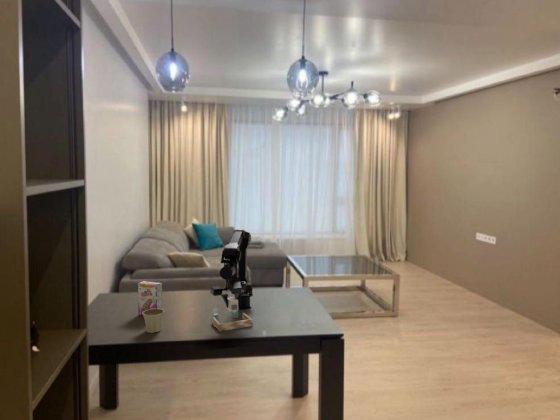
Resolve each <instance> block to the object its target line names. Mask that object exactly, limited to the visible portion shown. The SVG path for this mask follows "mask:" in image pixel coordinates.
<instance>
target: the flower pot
mask: <svg viewBox="0 0 560 420" xmlns="http://www.w3.org/2000/svg"><path fill="white" fill-rule="evenodd" d="M164 313H165V310H164V309H163V308H162V309H149V310H145V311H143V313H142V314H143V318H144V323H145V331H146V332H147V333H150V334H154V333H159V332H160V331H162V324H163V316H164Z"/></svg>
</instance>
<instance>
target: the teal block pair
mask: <svg viewBox="0 0 560 420" xmlns="http://www.w3.org/2000/svg"><path fill="white" fill-rule="evenodd" d="M212 315H213V316H212V318H213V317H214V318H215V319H216V320H219V314H218V313H213V314H212ZM232 317H233V318H234V319H238V318H239V310H238V311H233V312H232Z"/></svg>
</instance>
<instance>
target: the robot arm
mask: <svg viewBox="0 0 560 420" xmlns="http://www.w3.org/2000/svg"><path fill="white" fill-rule="evenodd" d="M251 235H252V234H251V233H250V232H248V231H246V230H245V229H234V230H233V234H232V238H231V240H230V242H229V243H228V244H226V245H225V246H224V248H223V249H222V253H221V260H220V264H223V266H222V268H220V271H219V276H220V277H221V278H222V279H223V280H225V283H224V287H221V286H218V285H217V286H211V287H210V290H209V291H210V294H211V295H212V296H215V297H219V296H220V297H221V298H222V299H223V302H224V304H225V308H226V307H227V308H228V297H229V294H228V292H230V293H231V294H232V295H233V296H234V297H235V298H236V299H237V300H238V310H246V309H252V306H251V297H253V285H252V284H251V282H250V279H249V278H248V276H247V275H248V255H247V254H248V248H249V246H250V245H251V241H252V236H251Z"/></svg>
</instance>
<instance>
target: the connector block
mask: <svg viewBox="0 0 560 420" xmlns="http://www.w3.org/2000/svg"><path fill="white" fill-rule="evenodd" d="M225 309H226V310H227V311H228V312H229V313H231V312H232V313H233V311H238V312H239V309H238V300H237V299H236V298H235V296H230V297H229V296H228V308H227V307H226V306H225Z"/></svg>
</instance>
